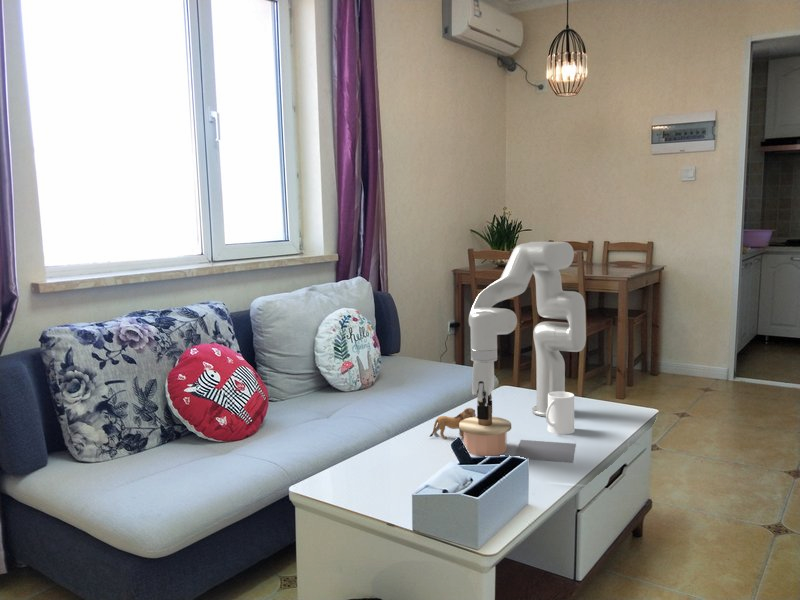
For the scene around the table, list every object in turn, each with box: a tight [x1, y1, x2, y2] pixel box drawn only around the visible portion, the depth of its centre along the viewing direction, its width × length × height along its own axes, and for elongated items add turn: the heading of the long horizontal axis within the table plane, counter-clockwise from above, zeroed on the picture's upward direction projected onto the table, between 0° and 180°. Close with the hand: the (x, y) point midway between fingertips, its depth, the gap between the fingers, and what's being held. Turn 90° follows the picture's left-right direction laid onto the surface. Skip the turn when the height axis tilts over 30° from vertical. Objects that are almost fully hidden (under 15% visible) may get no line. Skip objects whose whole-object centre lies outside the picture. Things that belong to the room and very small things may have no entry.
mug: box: [545, 391, 576, 435], centre depth 210 cm, size 12×8×12 cm
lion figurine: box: [428, 407, 477, 440], centre depth 209 cm, size 15×5×9 cm, turn 96°
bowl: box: [463, 432, 508, 457], centre depth 196 cm, size 12×12×7 cm
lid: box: [459, 405, 512, 435], centre depth 195 cm, size 15×15×6 cm
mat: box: [513, 439, 576, 464], centre depth 193 cm, size 16×16×1 cm
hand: (484, 415), depth 195 cm, fingers open, 5 cm apart
